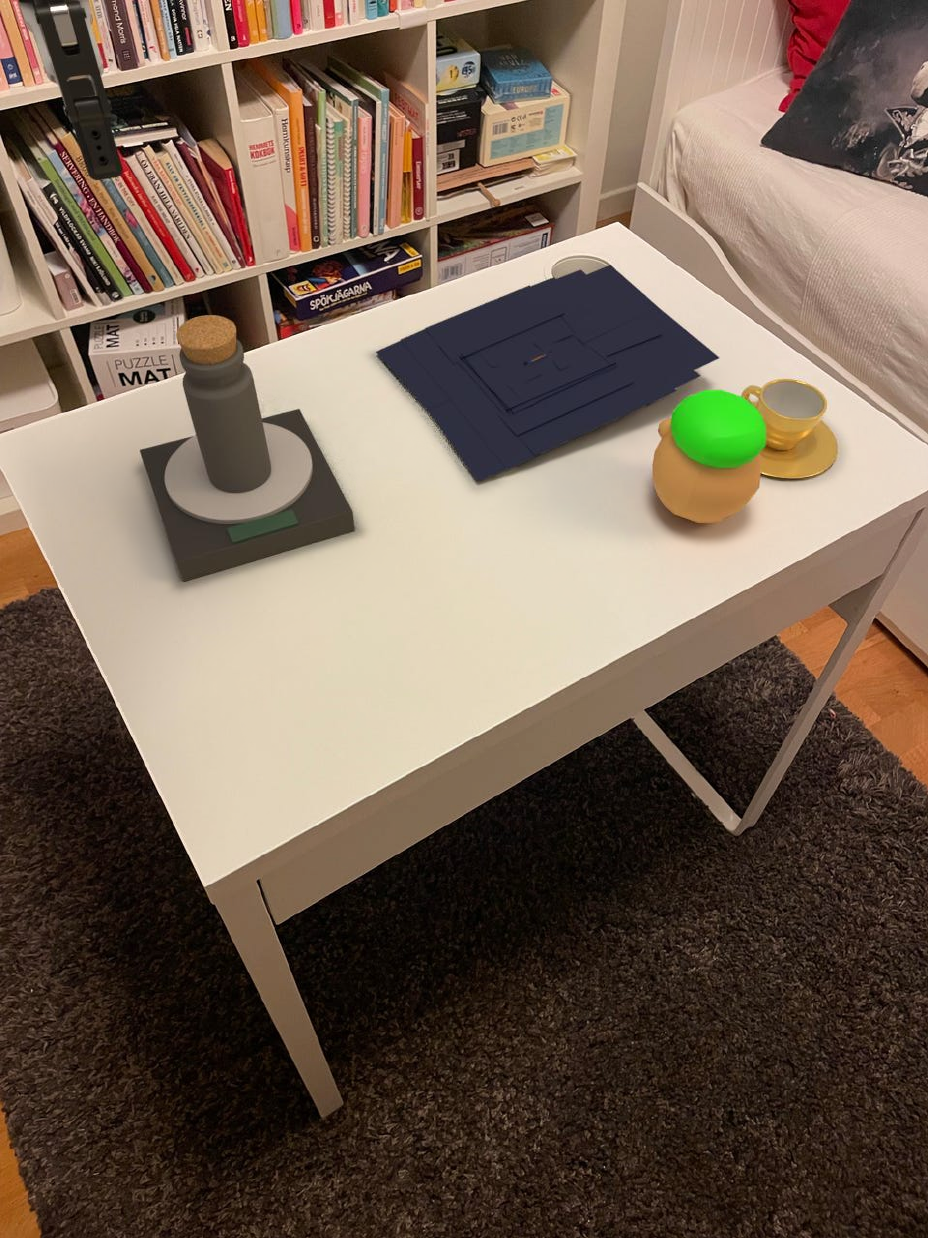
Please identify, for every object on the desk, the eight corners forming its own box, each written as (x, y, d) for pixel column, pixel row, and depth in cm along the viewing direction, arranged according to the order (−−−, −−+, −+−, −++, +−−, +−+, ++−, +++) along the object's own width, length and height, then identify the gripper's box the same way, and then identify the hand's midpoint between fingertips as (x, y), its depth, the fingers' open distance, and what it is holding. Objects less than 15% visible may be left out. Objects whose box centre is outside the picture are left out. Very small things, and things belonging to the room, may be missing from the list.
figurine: (764, 531, 83) (804, 430, 74) (670, 552, 82) (699, 451, 72) (709, 454, 90) (739, 352, 81) (621, 472, 88) (641, 370, 79)
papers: (727, 388, 95) (732, 360, 92) (481, 502, 89) (478, 476, 86) (600, 277, 108) (601, 249, 105) (378, 370, 102) (372, 343, 99)
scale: (183, 582, 79) (174, 558, 76) (146, 469, 88) (137, 444, 85) (355, 530, 83) (352, 506, 80) (302, 427, 92) (298, 403, 89)
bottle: (195, 472, 83) (153, 331, 71) (245, 442, 86) (213, 301, 74) (234, 503, 80) (198, 362, 69) (284, 471, 83) (258, 330, 71)
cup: (856, 438, 92) (876, 395, 88) (801, 498, 86) (819, 456, 82) (754, 389, 97) (768, 346, 93) (695, 443, 91) (707, 400, 87)
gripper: (-75, -181, 52) (28, 116, 65) (-60, -120, 44) (53, 206, 56) (59, -190, 54) (133, 100, 67) (96, -132, 46) (172, 185, 58)
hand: (96, 148), depth 61 cm, fingers open, 8 cm apart
